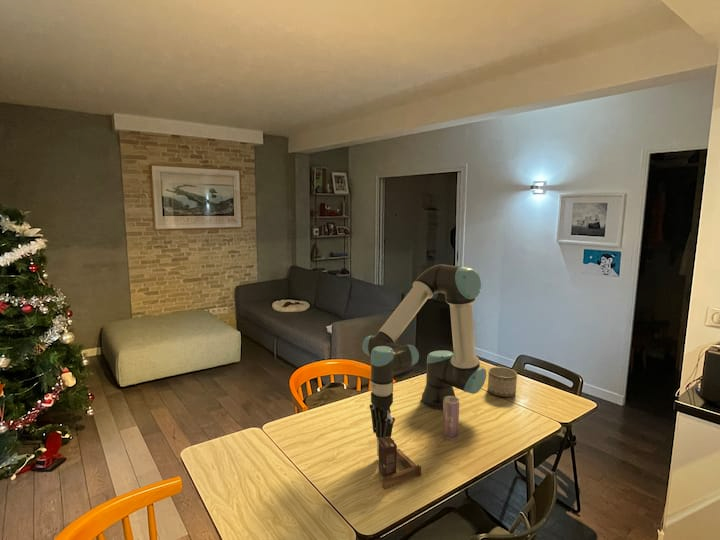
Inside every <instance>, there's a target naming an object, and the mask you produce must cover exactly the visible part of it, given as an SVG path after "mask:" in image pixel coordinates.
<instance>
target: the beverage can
mask: <svg viewBox="0 0 720 540" xmlns="http://www.w3.org/2000/svg"><path fill="white" fill-rule="evenodd" d="M459 420H460V398H458V397H454V396H446V397H445V398H444V401H443V409H442V426H441V427H442V428H441V429H442V430H441V433H442V436H443V437H444V438H445V439H447V440H456V439H457V438H458V436H459V423H460V421H459Z"/></svg>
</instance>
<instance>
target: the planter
mask: <svg viewBox="0 0 720 540" xmlns="http://www.w3.org/2000/svg"><path fill="white" fill-rule="evenodd" d="M487 378H488V379H487V391H488V392H489V393H490V394H491V395H495V396H497V397H504V398H505V397H506V398H510V397H513V396H515V395H516V393H517V381H518V379H517V378H518V373H517V372H516V370H514V369H511V368H510V367H509V368H508V367H504V366H493V367H490V368H489V369H488V374H487Z"/></svg>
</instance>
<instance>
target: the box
mask: <svg viewBox="0 0 720 540" xmlns="http://www.w3.org/2000/svg"><path fill="white" fill-rule="evenodd" d="M397 449H398V445H397V444H396V442H395V441H394V440H393V438H392V436H391V437H390V436H386V437H381V438H379V457H378V466H377V467H378V468H377V469H378V473H380V476H382V478H383V477H386V476H389V475H392V474H394V473H397V468H398V467H397V463H398V462H397V461H398V460H397Z"/></svg>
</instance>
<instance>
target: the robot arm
mask: <svg viewBox="0 0 720 540" xmlns="http://www.w3.org/2000/svg"><path fill="white" fill-rule="evenodd" d="M481 287H482V281H481V277H480V275H479V272H477V271H476V270H475V269H474V268H470V267H467V266H458V265H449V264H444V263H441V264H435V265H433V266H430V267H429V268H427V269H426V270H424V271H423V272H421V274H420V275H419V276H418V277H417V278H416V279H415V280H414V281H413V283H412V288H411V289H410V291H409V292H408V293H407V294H406V296H405V297H404V298H403V299H402V301H401V302H400V303H399V304H398V306H397V307H396V309H394V311H393V312H392V314H391V315H390V316H388V319H386V321H385V323H384V324H383V325H382V326H381V328H380V329H379V330H378V331H377V333H376V334H375V335H368V336H366V337H365V338H364V339H363V342H362V345H361V346H362V347H361V348H362V351H363V353H364V354H366V355H367V356H368V357H370V391H371V392H370V404H369V405H368V406H369V409H370V414H371V422H372V423H371V426H372V432H373V434H375V437H376V456H377V457H378V458H379V438H381V437H386V436H390V437H391V438H392V433H393V427H394V423H395V421H396V418H395V417H394V416H393V417H392V415H391V406H392V405H393V403H394V393H393V392H394V373H397V372H399V371H402V370H405V369H408V368H411V367H413V366H414V365H416V364H417V363H418V362H419V359H420V353H419V350H418V348H416V346H414V345H413V344H404V345H401V344H397V343H396V342H397V340H398V338H400V336H401V334H402V333H403V332H404V331H405V329H406V328H407V327H408V325H410V322H411V321H412V320H413V319H414V317H415V316H416V315H417V314H418V312H420V310H421V308H422V307H423V306H424V305H425V303H426V302H427V300H428V299H432V298H433V296H434V295H435V294H438V293H439V294H440V293H441V294H444V296H445V297H444V298H445V299H444V300H445V303H447V304H448V305H449V312H450V313H449V314H450V322H451V324H450V325H451V335H452V347H453V351H450V350H434V351H431V352H430V353H428V354H427V358H426V381H425V387H424V390H423V392H422V394H421V402H422V404H424V405H425V406H426V407H428V408H430V409H435V410H443V401H444V398H445V397H446V396H454V397H456V394H455V390H454V388H455V389H459V390H461V391H462V392H465V393H469V394H472V395H474V394H477V393H478V392H479V391H481V389H482V388H483V386H484V384H486V383H485V382H486V379H487V370H486V369H485V368H484V367H483V366H481V365H480V364H481V363H480V358H479V357H478V356H477V355H476V347H475V333H474V332H475V331H474V318H473V317H474V316H473V303H475V301H476V298H477V297H479V294H480V292H481V291H480V290H481Z"/></svg>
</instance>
